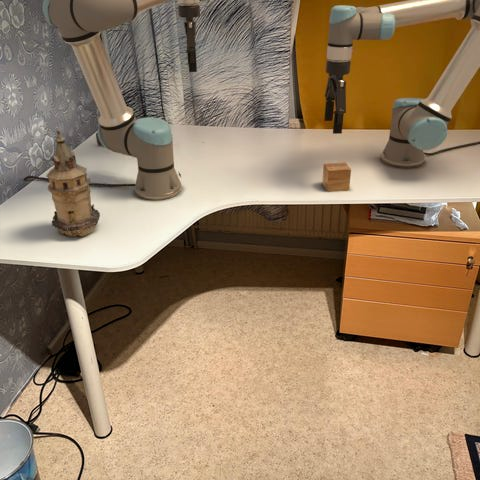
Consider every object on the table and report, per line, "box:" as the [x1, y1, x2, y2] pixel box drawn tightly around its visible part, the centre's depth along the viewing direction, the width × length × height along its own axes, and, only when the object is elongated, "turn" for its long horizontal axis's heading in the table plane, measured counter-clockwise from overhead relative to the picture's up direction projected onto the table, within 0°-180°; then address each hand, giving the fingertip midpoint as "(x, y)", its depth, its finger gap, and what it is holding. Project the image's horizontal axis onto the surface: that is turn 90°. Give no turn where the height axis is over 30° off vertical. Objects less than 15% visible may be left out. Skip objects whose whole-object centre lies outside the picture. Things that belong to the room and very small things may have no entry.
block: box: [321, 161, 352, 192], centre depth 178 cm, size 7×8×7 cm
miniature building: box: [45, 129, 101, 237], centre depth 148 cm, size 13×14×30 cm
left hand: (192, 67), depth 195 cm, fingers open, 13 cm apart
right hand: (332, 126), depth 177 cm, fingers open, 13 cm apart
